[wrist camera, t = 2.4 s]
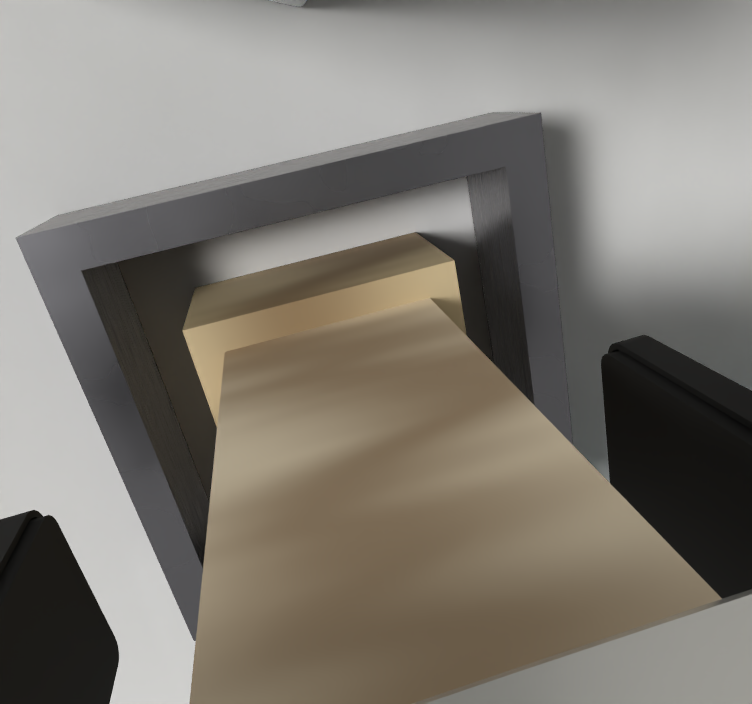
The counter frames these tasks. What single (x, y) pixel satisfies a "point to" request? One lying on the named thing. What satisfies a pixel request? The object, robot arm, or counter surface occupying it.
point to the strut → (394, 496)
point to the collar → (267, 206)
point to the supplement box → (291, 2)
